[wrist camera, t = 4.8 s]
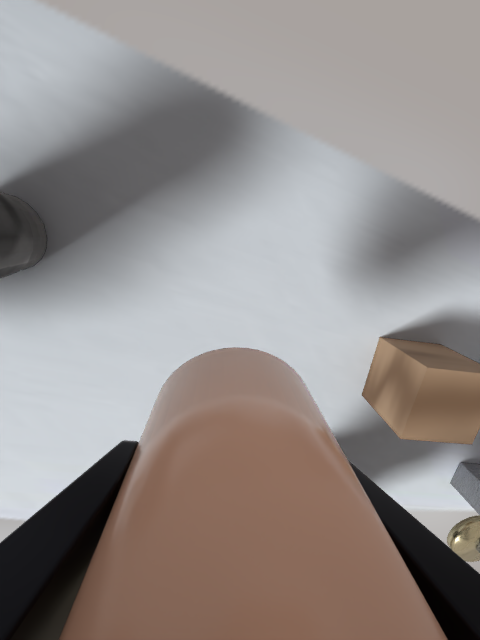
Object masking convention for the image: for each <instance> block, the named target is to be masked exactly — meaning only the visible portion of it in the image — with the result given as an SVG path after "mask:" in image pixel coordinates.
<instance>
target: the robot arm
mask: <svg viewBox="0 0 480 640" xmlns="http://www.w3.org/2000/svg"><path fill="white" fill-rule="evenodd" d="M137 446H138V442H137V441H126V440H125V441H122V442H120V443H119V444H118V445H117V446H116V447H114V448H113V449H112V450H111V451H110V452H108V453H107V454H106V455H105V456H104V457H102V458H101V459H100V460H99V461H98V462H96V463H95V464H94V465H93V466H92V467H90V468H89V469H88V470H87V471H86V472H84V473H83V474H82V475H81V476H80V477H78V478H77V479H76V480H75V481H74V482H72V483H71V484H70V485H69V486H68V487H66V488H65V489H64V490H63V491H62V492H60V493H59V494H58V495H57V496H56V497H54V498H53V499H52V500H51V501H50V502H48V503H47V504H46V505H45V506H44V507H42V508H41V509H40V510H39V511H38V512H36V513H35V514H34V515H33V516H32V517H31V518H29V519H28V520H27V521H26V522H25V523H23V524H22V525H21V526H20V527H19V528H17V529H16V530H15V531H14V532H13V533H11V534H10V535H9V536H8V537H7V538H5V539H4V540H3V541H2V542H1V543H0V640H59V638H60V635H61V633H62V630H63V628H64V625H65V623H66V620H67V618H68V615H69V613H70V611H71V608H72V606H73V603H74V601H75V598H76V596H77V593H78V591H79V588H80V586H81V583H82V581H83V579H84V576H85V574H86V571H87V569H88V566H89V564H90V561H91V559H92V556H93V554H94V551H95V549H96V547H97V544H98V542H99V539H100V537H101V534H102V532H103V529H104V527H105V524H106V522H107V520H108V517H109V515H110V512H111V510H112V507H113V505H114V502H115V500H116V497H117V495H118V492H119V490H120V488H121V485H122V483H123V480H124V478H125V475H126V473H127V470H128V468H129V465H130V463H131V460H132V458H133V456H134V453H135V451H136V448H137ZM348 462H349V461H348ZM349 464H350V465H351V467H352V469H353V471H354V473H355V474H356V476H357V478H358V480H359V481H360V483H361V485H362V487H363V489H364V490H365V492H366V494H367V496H368V498H369V499H370V501H371V503H372V505H373V507H374V508H375V510H376V512H377V514H378V516H379V517H380V519H381V521H382V523H383V525H384V526H385V528H386V530H387V532H388V533H389V535H390V537H391V539H392V541H393V542H394V544H395V546H396V548H397V550H398V551H399V553H400V555H401V557H402V559H403V560H404V562H405V564H406V566H407V568H408V569H409V571H410V573H411V575H412V576H413V578H414V580H415V582H416V584H417V585H418V587H419V589H420V591H421V593H422V594H423V596H424V598H425V600H426V602H427V603H428V605H429V607H430V609H431V611H432V612H433V614H434V616H435V618H436V619H437V621H438V623H439V625H440V627H441V628H442V630H443V632H444V634H445V636H446V637H447V639H448V640H480V574H479V573H478V572H477V571H476V570H474V569H473V568H472V567H471V566H470V565H469V564H468V563H466V562H465V561H464V560H463V559H462V558H461V557H460V556H458V555H457V554H456V553H455V552H454V551H453V550H451V549H450V548H449V547H448V546H447V545H445V544H444V543H443V542H442V541H441V540H440V539H439V538H437V537H436V536H435V535H434V534H433V533H432V532H430V531H429V530H428V529H427V528H426V527H425V526H424V525H422V524H421V523H420V522H419V521H418V520H417V519H415V518H414V517H413V516H412V515H411V514H410V513H408V512H407V511H406V510H405V509H404V508H403V507H402V506H400V505H399V504H398V503H397V502H396V501H395V500H393V499H392V498H391V497H390V496H389V495H388V494H386V493H385V492H384V491H383V490H382V489H381V488H379V487H378V486H377V485H376V484H375V483H374V482H372V481H371V480H370V479H369V478H368V477H367V476H366V475H364V474H363V473H362V472H361V471H360V470H359V469H357V468H356V467H355V466H354V465H353V464H352V463H350V462H349Z"/></svg>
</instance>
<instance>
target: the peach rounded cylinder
mask: <svg viewBox="0 0 480 640" xmlns="http://www.w3.org/2000/svg"><path fill="white" fill-rule="evenodd" d="M59 640H448V639H447V637H446V636H445V634H444V632H443V630H442V628H441V627H440V625H439V623H438V621H437V619H436V618H435V616H434V614H433V612H432V611H431V609H430V607H429V605H428V603H427V602H426V600H425V598H424V596H423V594H422V593H421V591H420V589H419V587H418V585H417V584H416V582H415V580H414V578H413V576H412V575H411V573H410V571H409V569H408V568H407V566H406V564H405V562H404V560H403V559H402V557H401V555H400V553H399V551H398V550H397V548H396V546H395V544H394V542H393V541H392V539H391V537H390V535H389V533H388V532H387V530H386V528H385V526H384V525H383V523H382V521H381V519H380V517H379V516H378V514H377V512H376V510H375V508H374V507H373V505H372V503H371V501H370V499H369V498H368V496H367V494H366V492H365V490H364V489H363V487H362V485H361V483H360V481H359V480H358V478H357V476H356V474H355V473H354V471H353V469H352V467H351V465H350V464H349V462H348V460H347V458H346V456H345V455H344V453H343V451H342V449H341V447H340V446H339V444H338V442H337V440H336V438H335V437H334V435H333V433H332V431H331V430H330V428H329V426H328V424H327V422H326V421H325V419H324V417H323V415H322V413H321V412H320V410H319V408H318V406H317V404H316V403H315V401H314V399H313V397H312V395H311V394H310V392H309V390H308V388H307V387H306V385H305V383H304V382H303V380H302V379H301V377H300V376H299V375H298V374H297V372H296V371H295V370H294V369H293V368H292V367H290V366H289V365H288V364H287V363H285V362H284V361H282V360H281V359H279V358H277V357H275V356H273V355H271V354H269V353H266V352H262V351H259V350H255V349H249V348H223V349H218V350H213V351H209V352H206V353H203V354H201V355H199V356H197V357H194V358H192V359H191V360H189V361H187V362H186V363H184V364H183V365H181V366H180V367H179V368H178V369H177V370H175V371H174V372H173V374H172V375H171V376H170V377H169V378H168V379H167V380H166V382H165V383H164V385H163V386H162V388H161V390H160V392H159V394H158V397H157V399H156V401H155V404H154V406H153V409H152V411H151V414H150V416H149V419H148V421H147V424H146V426H145V429H144V431H143V433H142V436H141V438H140V441H139V443H138V446H137V448H136V451H135V453H134V456H133V458H132V460H131V463H130V465H129V468H128V470H127V473H126V475H125V478H124V480H123V483H122V485H121V488H120V490H119V492H118V495H117V497H116V500H115V502H114V505H113V507H112V510H111V512H110V515H109V517H108V520H107V522H106V524H105V527H104V529H103V532H102V534H101V537H100V539H99V542H98V544H97V547H96V549H95V551H94V554H93V556H92V559H91V561H90V564H89V566H88V569H87V571H86V574H85V576H84V579H83V581H82V583H81V586H80V588H79V591H78V593H77V596H76V598H75V601H74V603H73V606H72V608H71V611H70V613H69V615H68V618H67V620H66V623H65V625H64V628H63V630H62V633H61V635H60V638H59Z"/></svg>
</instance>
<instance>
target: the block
mask: <svg viewBox="0 0 480 640" xmlns="http://www.w3.org/2000/svg"><path fill="white" fill-rule="evenodd" d="M362 396H363V397H364V398H365V399H366V400H367V402H368V403H369V404H370V405H371V406H372V407H373V408H374V409H375V411H376V412H377V413H378V414H379V415H380V416H381V417H382V419H383V420H384V421H385V422H386V423H387V424H388V425H389V426H390V428H391V429H392V430H393V431H394V432H395V433H396V434H397V436H398V437H399V438H400V439H408V440H420V441H433V442H446V443H459V444H472V443H473V441H474V439H475V437H476V435H477V433H478V431H479V429H480V364H479V363H477V362H475V361H473V360H471V359H469V358H467V357H465V356H463V355H461V354H459V353H457V352H455V351H453V350H451V349H449V348H447V347H445V346H443V345H441V344H433V343H425V342H416V341H408V340H400V339H391V338H383V337H380V338H379V341H378V345H377V348H376V351H375V354H374V357H373V361H372V364H371V367H370V370H369V373H368V377H367V380H366V383H365V386H364V389H363V393H362Z"/></svg>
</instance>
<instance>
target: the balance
mask: <svg viewBox="0 0 480 640" xmlns="http://www.w3.org/2000/svg"><path fill="white" fill-rule="evenodd" d="M451 484H452V486H453V487H454V488H455V489H456V490H457V491H458V492H459V493H460V494H461V495H462V496H463V497H464V499H465V500H466V501H467V502H468V503H469V504H470V505H471V506H472V507H473V508H474V509H475V510H476V512H477V513H478V514H479V516H472V517H469V518H466V519H464V520H462V521H460V522H459V523H458V524H456V525H455V526H454V527H453V528H452V529H451V531H450V532H449V534H448V537H447V543H448V546H449V547H450V549H451V550H453V551H454V552H455V553H456V554H457V555H458V556H460V557H461V558H462V559H463V560H464V561H468V562H474V561H479V560H480V464H472V463H460V464H459V466H458V468H457V470H456V472H455V474H454V476H453V478H452V480H451Z"/></svg>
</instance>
